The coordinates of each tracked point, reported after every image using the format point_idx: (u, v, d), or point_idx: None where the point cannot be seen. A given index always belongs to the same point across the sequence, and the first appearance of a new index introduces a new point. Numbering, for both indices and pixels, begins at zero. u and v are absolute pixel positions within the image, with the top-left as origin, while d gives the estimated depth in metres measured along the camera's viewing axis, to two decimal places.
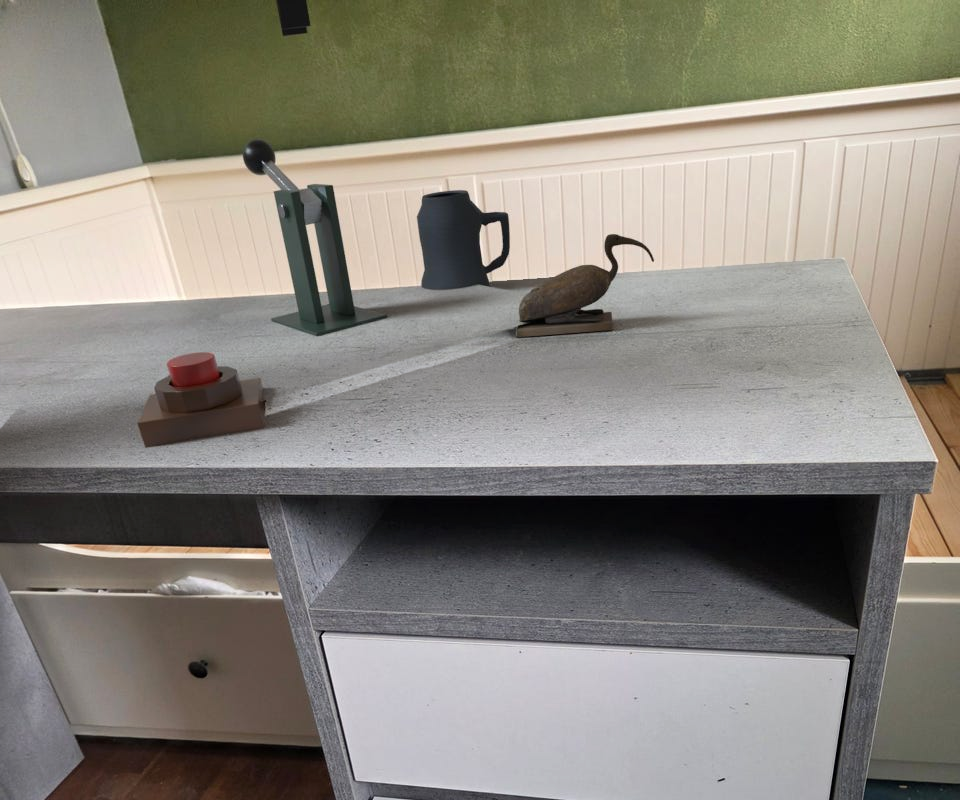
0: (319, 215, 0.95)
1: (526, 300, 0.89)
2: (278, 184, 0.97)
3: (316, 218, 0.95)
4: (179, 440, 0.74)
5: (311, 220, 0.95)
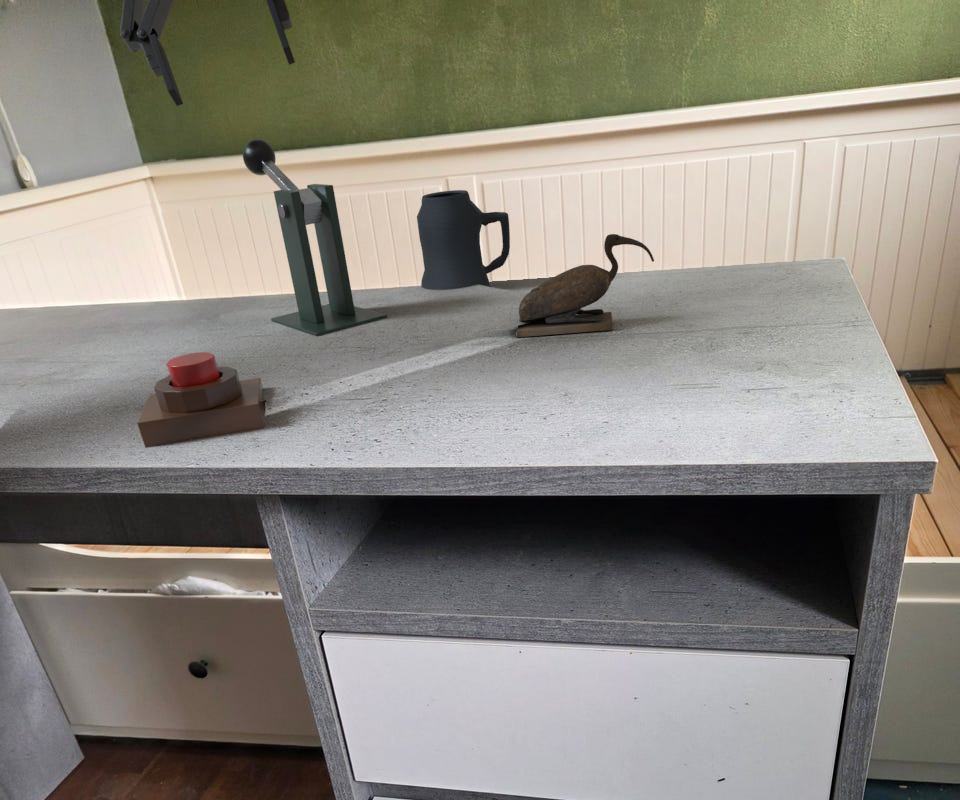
0: (319, 215, 0.95)
1: (526, 300, 0.89)
2: (278, 184, 0.97)
3: (316, 218, 0.95)
4: (179, 440, 0.74)
5: (311, 220, 0.95)
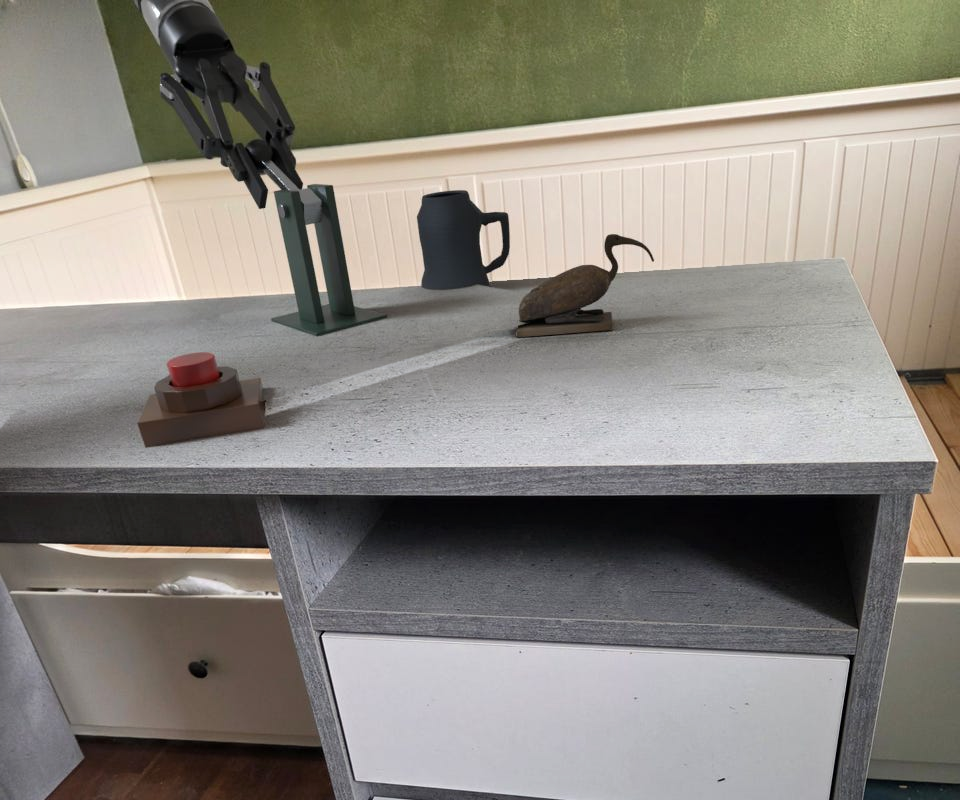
0: (319, 215, 0.95)
1: (526, 300, 0.89)
2: (278, 184, 0.97)
3: (316, 218, 0.95)
4: (179, 440, 0.74)
5: (311, 220, 0.95)
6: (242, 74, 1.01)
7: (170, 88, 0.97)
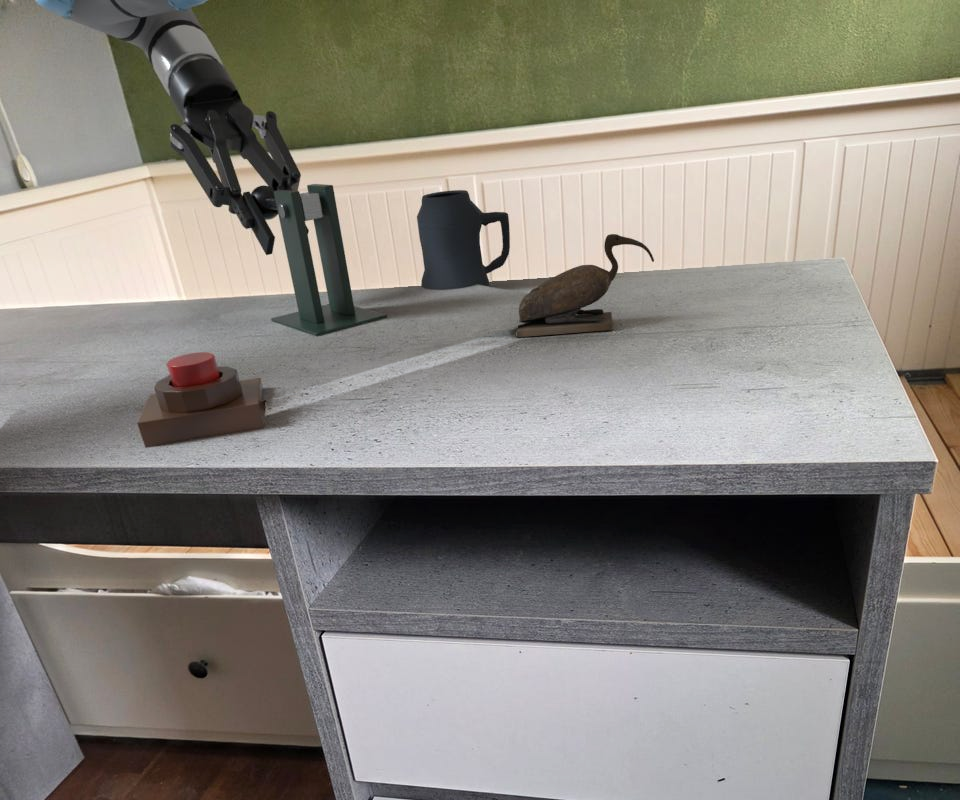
0: (319, 209, 0.94)
1: (526, 300, 0.89)
2: None
3: (317, 213, 0.94)
4: (179, 440, 0.74)
5: (312, 215, 0.94)
6: (249, 123, 1.04)
7: (180, 139, 1.00)
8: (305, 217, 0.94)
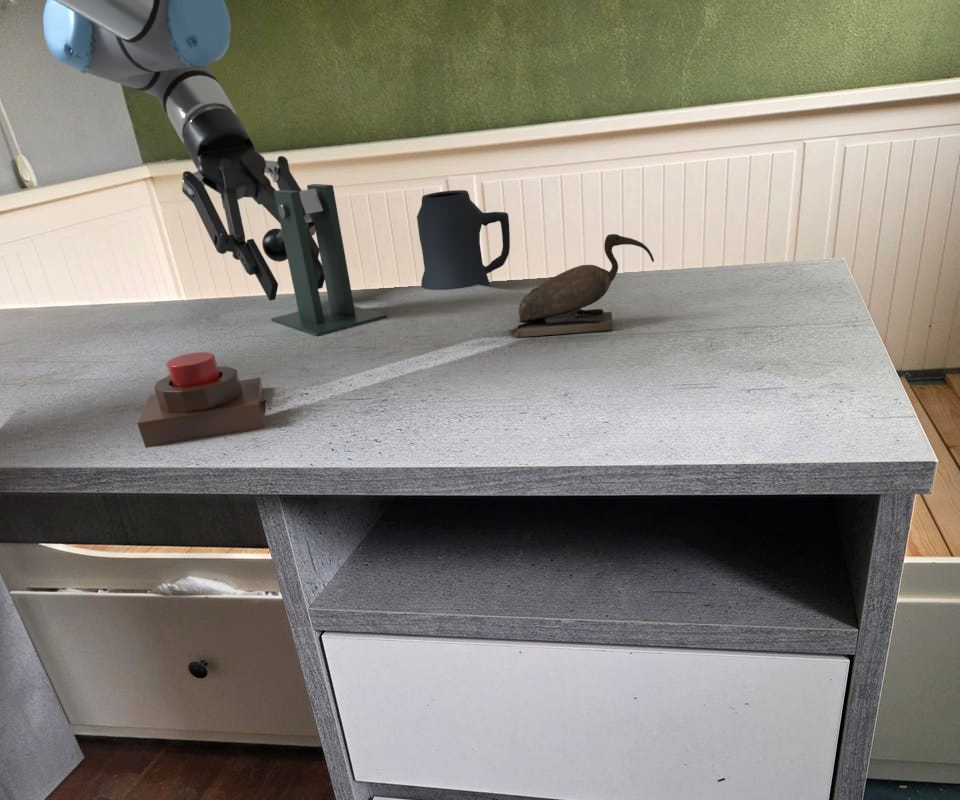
0: (318, 203, 0.94)
1: (526, 300, 0.89)
2: None
3: (316, 206, 0.94)
4: (179, 440, 0.74)
5: (311, 208, 0.94)
6: (261, 171, 1.07)
7: (191, 186, 1.02)
8: (305, 211, 0.93)
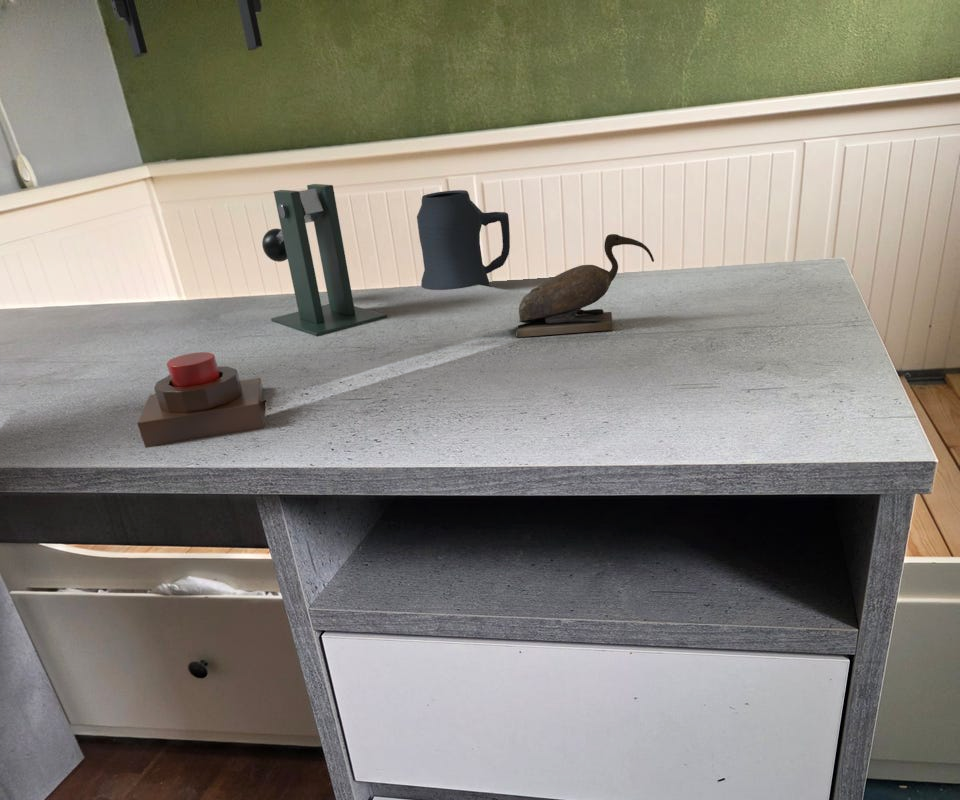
0: (318, 203, 0.94)
1: (526, 300, 0.89)
2: None
3: (316, 206, 0.94)
4: (179, 440, 0.74)
5: (311, 208, 0.94)
6: None
7: None
8: (305, 211, 0.93)
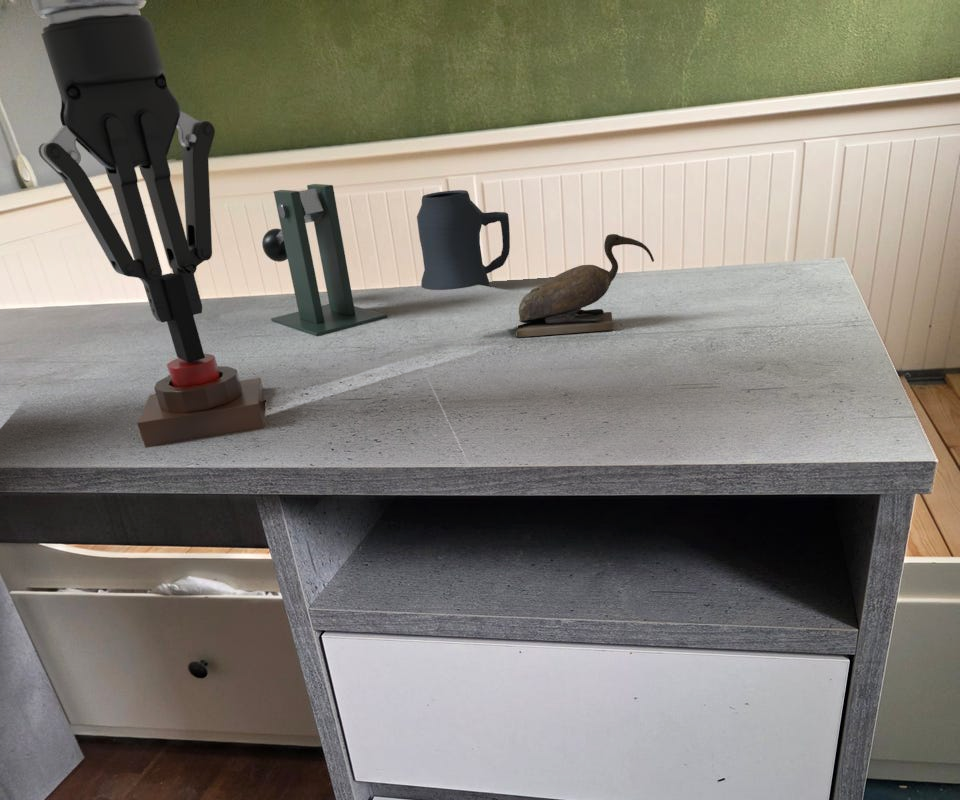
0: (318, 203, 0.94)
1: (526, 300, 0.89)
2: None
3: (316, 206, 0.94)
4: (179, 440, 0.74)
5: (311, 208, 0.94)
6: (171, 136, 0.66)
7: (63, 173, 0.63)
8: (305, 211, 0.93)
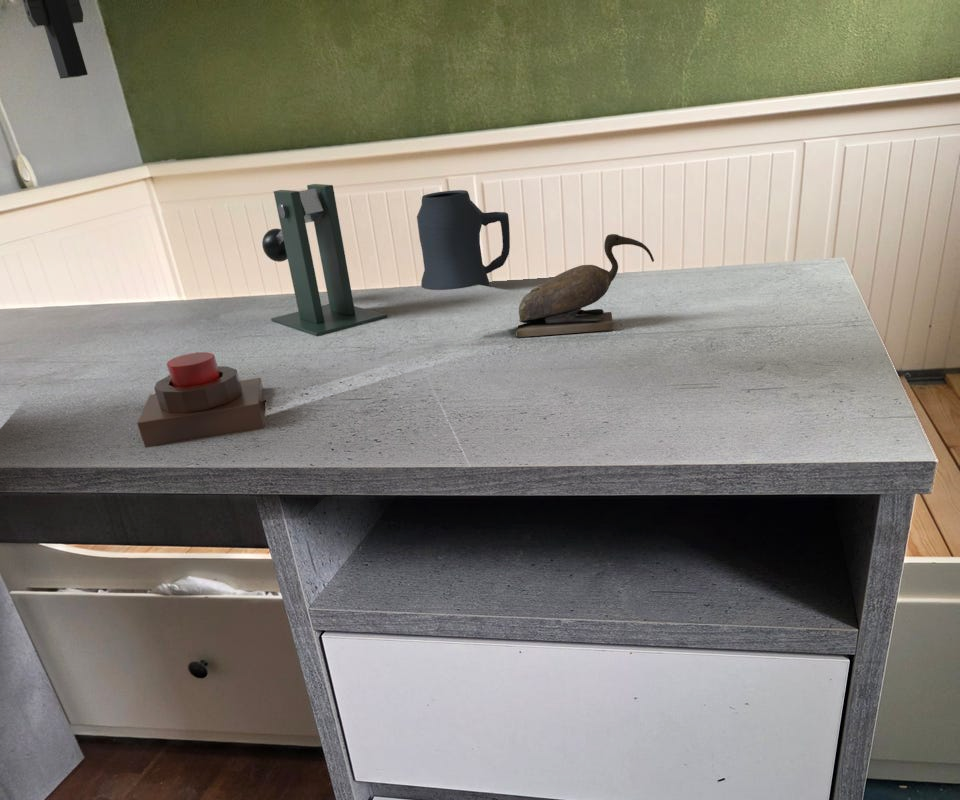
0: (318, 203, 0.94)
1: (526, 300, 0.89)
2: None
3: (316, 206, 0.94)
4: (179, 440, 0.74)
5: (311, 208, 0.94)
6: None
7: None
8: (305, 211, 0.93)
